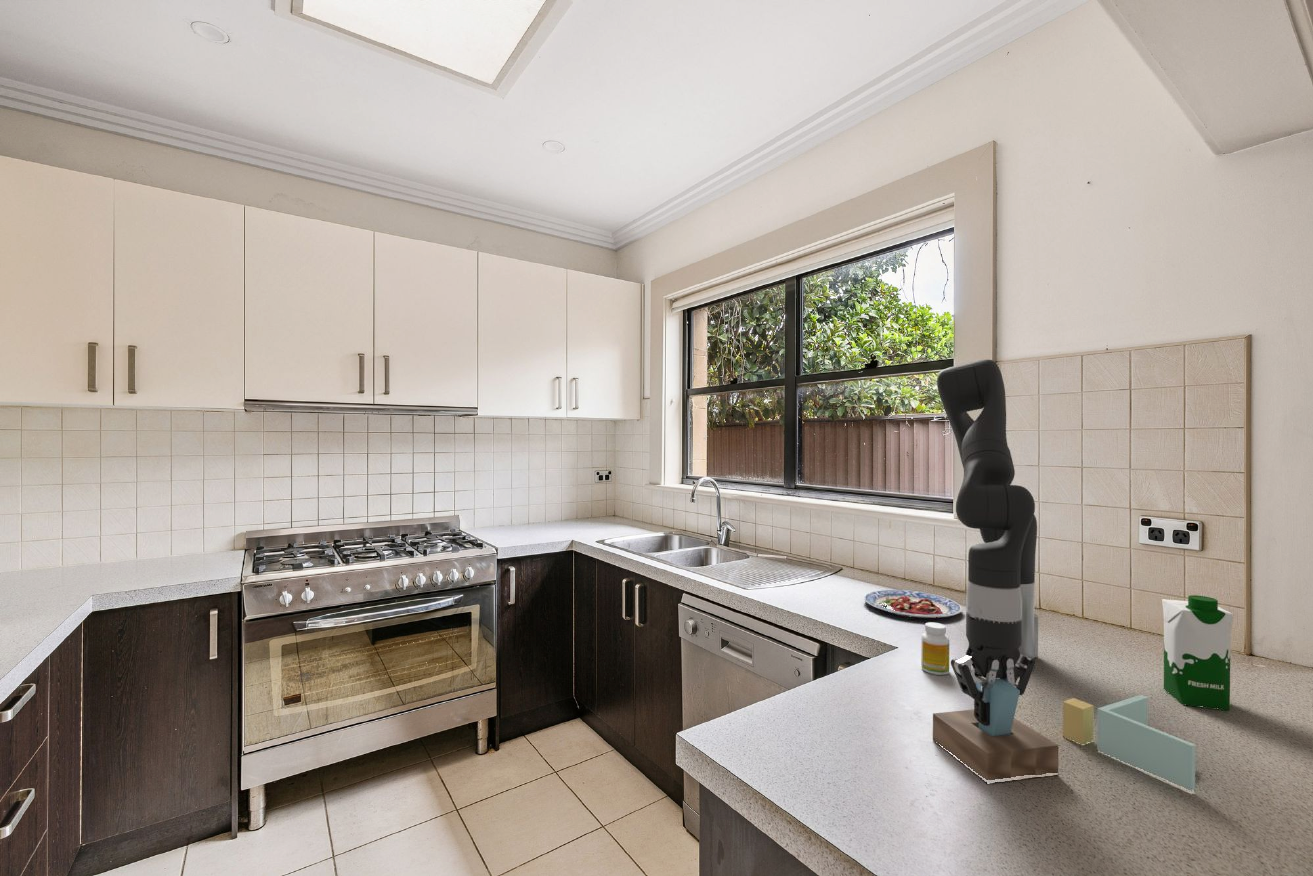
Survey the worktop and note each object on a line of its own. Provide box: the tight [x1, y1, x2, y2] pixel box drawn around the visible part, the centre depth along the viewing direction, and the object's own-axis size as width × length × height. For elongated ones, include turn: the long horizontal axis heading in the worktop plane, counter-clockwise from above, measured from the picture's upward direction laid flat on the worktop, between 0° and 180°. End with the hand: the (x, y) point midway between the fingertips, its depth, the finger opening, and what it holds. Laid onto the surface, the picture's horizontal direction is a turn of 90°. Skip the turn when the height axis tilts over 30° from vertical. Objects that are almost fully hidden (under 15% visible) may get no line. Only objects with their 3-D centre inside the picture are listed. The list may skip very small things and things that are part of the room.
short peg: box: [1062, 697, 1095, 744], centre depth 95 cm, size 3×3×6 cm
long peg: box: [978, 679, 1020, 737], centre depth 89 cm, size 3×3×12 cm
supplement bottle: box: [920, 621, 950, 676], centre depth 123 cm, size 5×5×10 cm
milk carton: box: [1161, 594, 1235, 711], centre depth 109 cm, size 9×9×20 cm
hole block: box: [932, 708, 1060, 780], centre depth 90 cm, size 12×12×4 cm
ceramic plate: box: [864, 589, 963, 619], centre depth 166 cm, size 26×26×3 cm
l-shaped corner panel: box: [1096, 694, 1197, 791], centre depth 88 cm, size 12×12×8 cm
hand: (992, 721), depth 90 cm, fingers closed on long peg, 3 cm apart
